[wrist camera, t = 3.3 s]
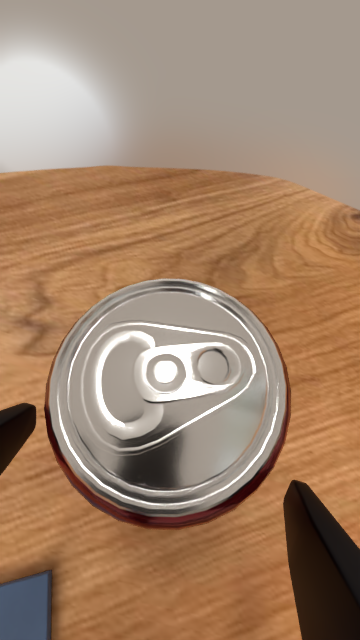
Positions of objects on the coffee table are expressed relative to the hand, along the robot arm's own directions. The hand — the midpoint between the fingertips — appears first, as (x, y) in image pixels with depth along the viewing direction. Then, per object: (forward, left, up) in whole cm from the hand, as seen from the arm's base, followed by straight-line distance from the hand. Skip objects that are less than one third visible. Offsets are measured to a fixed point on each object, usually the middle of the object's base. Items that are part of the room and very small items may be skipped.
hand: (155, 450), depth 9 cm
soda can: (+2, -1, -9) cm, 10 cm away
